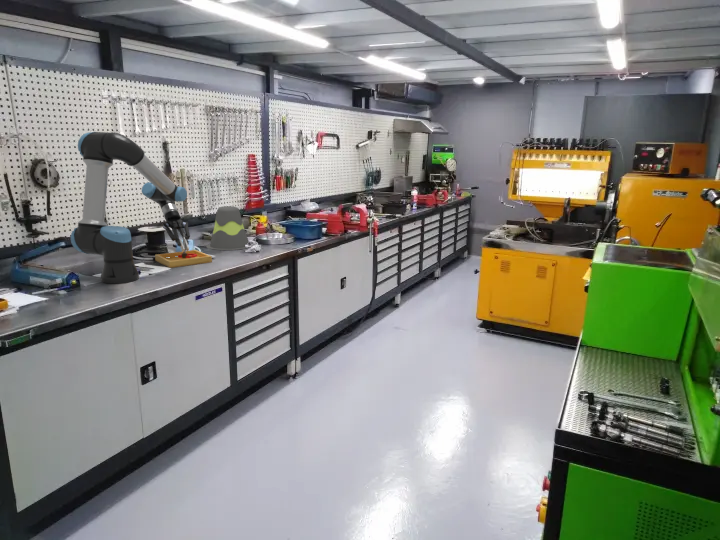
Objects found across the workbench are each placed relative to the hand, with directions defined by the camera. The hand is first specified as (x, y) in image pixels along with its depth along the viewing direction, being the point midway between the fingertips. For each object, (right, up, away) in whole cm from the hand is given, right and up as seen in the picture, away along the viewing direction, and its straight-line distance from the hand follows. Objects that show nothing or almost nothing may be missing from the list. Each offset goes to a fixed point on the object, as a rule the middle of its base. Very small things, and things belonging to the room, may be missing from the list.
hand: (185, 250), depth 245 cm
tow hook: (-1, -3, +6) cm, 7 cm away
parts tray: (-3, -6, +4) cm, 8 cm away
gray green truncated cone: (+10, +4, +48) cm, 49 cm away
